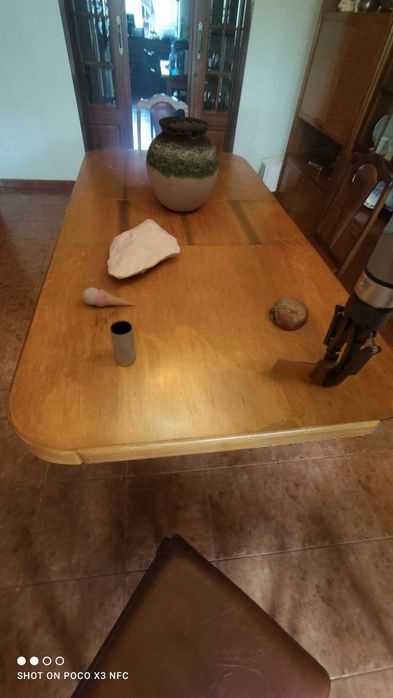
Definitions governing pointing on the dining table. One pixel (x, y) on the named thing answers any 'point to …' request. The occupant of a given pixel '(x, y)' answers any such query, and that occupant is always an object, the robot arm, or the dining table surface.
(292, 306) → the bread roll
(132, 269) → the white rock slab
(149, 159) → the vase
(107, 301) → the ice cream cone
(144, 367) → the dining table surface
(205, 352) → the dining table surface
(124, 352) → the grey cylinder
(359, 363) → the robot arm
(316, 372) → the knife
